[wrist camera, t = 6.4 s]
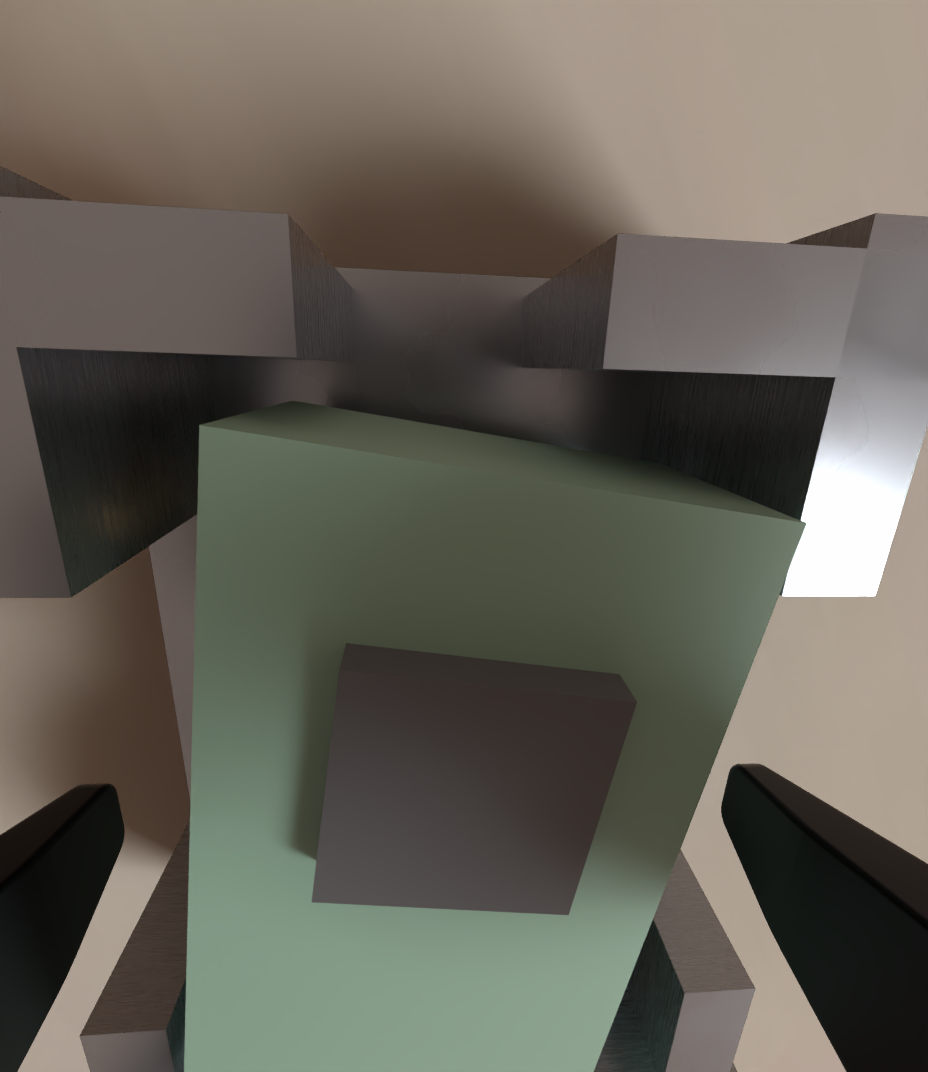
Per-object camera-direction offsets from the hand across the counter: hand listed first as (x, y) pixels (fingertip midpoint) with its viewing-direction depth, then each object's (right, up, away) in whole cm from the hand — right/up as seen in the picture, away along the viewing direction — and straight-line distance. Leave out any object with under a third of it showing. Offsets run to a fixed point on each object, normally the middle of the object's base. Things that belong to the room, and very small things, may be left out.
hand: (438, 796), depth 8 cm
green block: (0, +1, +2) cm, 2 cm away
